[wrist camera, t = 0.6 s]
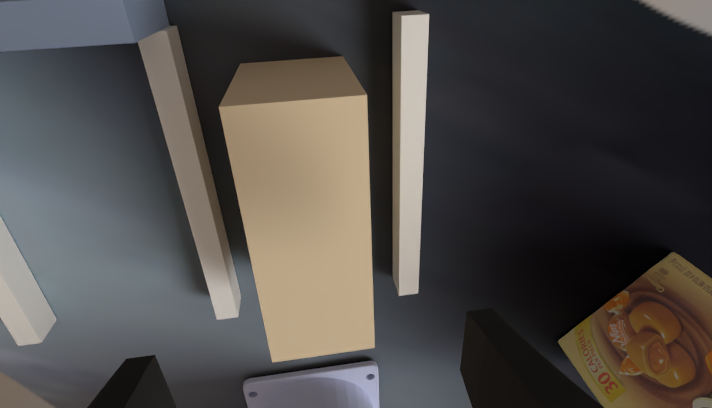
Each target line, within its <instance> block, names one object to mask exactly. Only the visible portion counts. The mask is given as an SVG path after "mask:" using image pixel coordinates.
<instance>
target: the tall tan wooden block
mask: <svg viewBox="0 0 712 408" xmlns="http://www.w3.org/2000/svg"><path fill="white" fill-rule="evenodd" d="M219 111H220V116H221V120H222V125H223V130H224V135H225V140H226V144H227V149H228V154H229V159H230V163H231V168H232V173H233V178H234V182H235V187H236V192H237V197H238V201H239V206H240V211H241V216H242V221H243V225H244V230H245V235H246V240H247V244H248V249H249V254H250V259H251V263H252V268H253V273H254V278H255V282H256V287H257V292H258V297H259V302H260V306H261V311H262V316H263V321H264V325H265V330H266V335H267V340H268V344H269V349H270V354H271V359H272V363H273V362H280V361H287V360H294V359H301V358H308V357H315V356H322V355H329V354H335V353H342V352H349V351H356V350H363V349H370V348H375V339H374V306H373V273H372V241H371V208H370V175H369V142H368V110H367V94H366V92H365V91H364V89H363V88H362V86H361V84H360V83H359V81H358V80H357V78H356V76H355V75H354V73H353V72H352V70H351V68H350V67H349V65H348V64H347V62H346V60H345V59H344V57H343V56H339V57H325V58H311V59H297V60H284V61H270V62H256V63H242V64H240V65H239V67H238V69H237V71H236V73H235V75H234V77H233V79H232V81H231V83H230V85H229V87H228V89H227V91H226V93H225V95H224V97H223V99H222V101H221V103H220V105H219Z"/></svg>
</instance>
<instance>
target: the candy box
mask: <svg viewBox="0 0 712 408" xmlns="http://www.w3.org/2000/svg"><path fill="white" fill-rule="evenodd" d="M558 343H559V345H560V346H561V348H562V349H563V351H564V352H565V354H566V355H567V356H568V358H569V359H570V361H571V362H572V363H573V365H574V366H575V368H576V369H577V371H578V372H579V373H580V375H581V376H582V378H583V379H584V381H585V382H586V383H587V385H588V386H589V388H590V389H591V391H592V392H593V393H594V395H595V396H596V397H597V399H598V400H599V402H600V403H601V405H602V406H603V407H604V408H712V279H711V278H710V277H709V276H707V275H706V274H704V273H703V272H702V271H700V270H699V269H698V268H696V267H695V266H693V265H692V264H691V263H689V262H688V261H686V260H685V259H684V258H682V257H681V256H680V255H678V254H677V253H675V252H672V253H670V254H669V255H668V256H667V257H665V258H664V259H663V260H661V261H660V262H659V263H657V264H656V265H654V266H653V267H652V268H650V269H649V270H648V271H646V272H645V273H644V274H643V275H642V276H640V277H639V278H638V279H637V280H636V281H635V282H634V283H632V284H631V285H630V286H628V287H627V288H626V289H624V290H623V291H621V292H620V293H619V294H617V295H616V296H615V297H613V298H612V299H611V300H610V301H608V302H607V303H606V304H604V305H603V306H602V307H601V308H600V309H598V310H597V311H596V312H595V313H593V314H592V315H590V316H589V317H588V318H586V319H585V320H584V321H582V322H581V323H580V324H578V325H577V326H576V327H574V328H573V329H572V330H571V331H570V332H568V333H567V334H566V335H565V336H563V337H562V338H561V339H559V340H558Z"/></svg>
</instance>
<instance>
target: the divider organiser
mask: <svg viewBox="0 0 712 408" xmlns="http://www.w3.org/2000/svg"><path fill="white" fill-rule="evenodd" d="M428 32H429V14H427V13H424V12H421V11H418V10H416V11H400V12H392V97H393V280H394V283H395V286H396V289H397V292H398V295H399V296H402V295H410V294H417V293H418V287H419V261H420V236H421V210H422V185H423V159H424V134H425V109H426V83H427V58H428ZM136 42H138V45H139V48H140V52H141V55H142V59H143V62H144V66H145V69H146V73H147V76H148V80H149V83H150V87H151V90H152V94H153V97H154V101H155V104H156V108H157V111H158V115H159V118H160V122H161V125H162V129H163V132H164V136H165V139H166V143H167V146H168V150H169V153H170V157H171V160H172V164H173V167H174V171H175V174H176V178H177V181H178V185H179V188H180V192H181V195H182V199H183V202H184V206H185V209H186V213H187V216H188V220H189V223H190V227H191V230H192V234H193V237H194V241H195V244H196V248H197V251H198V255H199V258H200V262H201V265H202V269H203V272H204V276H205V279H206V283H207V286H208V290H209V293H210V297H211V300H212V304H213V307H214V311H215V314H216V318H217V320H220V319H227V318H235V317H238V315H239V308H240V301H241V294H240V289H239V285H238V281H237V277H236V273H235V268H234V264H233V260H232V256H231V251H230V247H229V243H228V239H227V235H226V230H225V226H224V222H223V218H222V214H221V209H220V205H219V201H218V197H217V193H216V188H215V184H214V180H213V176H212V171H211V167H210V163H209V159H208V155H207V150H206V146H205V142H204V138H203V134H202V129H201V125H200V121H199V117H198V113H197V108H196V104H195V100H194V96H193V92H192V87H191V83H190V79H189V75H188V70H187V66H186V62H185V58H184V54H183V49H182V45H181V41H180V37H179V33H178V28H177V25H176V26H170V25H169V21H168V17H167V13H166V9H165V5H164V1H163V0H0V52H4V51H19V50H34V49H50V48H65V47H80V46H95V45H110V44H126V43H136ZM0 318H1V319H2V321H3V322H4V324H5V326H6V327H7V329H8V330H9V332H10V333H11V335H12V337H13V338H14V340H15V341H16V343H17V344H18V346H22V345H30V344H37V343H42V341H43V340H44V338H45V337H46V335H47V334H48V332H49V331H50V329H51V328H52V326H53V325H54V323H55V322H56V320H57V319H56V317H55V315H54V313H53V312H52V310H51V308H50V306H49V304H48V302H47V301H46V299H45V297H44V295H43V293H42V291H41V290H40V288H39V286H38V284H37V282H36V280H35V279H34V277H33V275H32V273H31V271H30V269H29V268H28V266H27V264H26V262H25V260H24V258H23V257H22V255H21V253H20V251H19V249H18V248H17V246H16V244H15V242H14V240H13V238H12V237H11V235H10V233H9V231H8V229H7V227H6V226H5V224H4V222H3V220H2V218H1V216H0Z"/></svg>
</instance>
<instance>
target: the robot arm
mask: <svg viewBox="0 0 712 408" xmlns="http://www.w3.org/2000/svg"><path fill="white" fill-rule="evenodd" d="M460 371H461V374H462V377H463V380H464V383H465V387H466V390H467V393H468V396H469V399H470V402H471V404H472V407H473V408H604V407H603V406H602V405H600V404H599V403H598V402H597V401H595V400H594V399H593V398H592V397H591V396H589V395H588V394H587V393H586V392H584V391H583V390H582V389H581V388H580V387H578V386H577V385H576V384H575V383H574V382H573V381H571V380H570V379H569V378H568V377H567V376H566V375H564V374H563V373H562V372H561V371H560V370H559V369H557V368H556V367H555V366H554V365H553V364H552V363H551V362H549V361H548V360H547V359H546V358H545V357H544V356H543V355H542V354H540V353H539V352H538V351H537V350H536V349H535V348H534V347H533V346H532V345H531V344H529V343H528V342H527V341H526V340H525V339H524V338H523V337H522V336H521V335H520V334H519V333H517V332H516V331H515V330H514V329H513V328H512V327H511V326H510V325H509V324H508V323H507V322H506V321H505V320H504V319H502V318H501V317H500V316H499V315H498V314H497V313H496V312H495V311H494V310H492V309H484V310H477V311H470V312H467V315H466V324H465V332H464V341H463V349H462V358H461V367H460ZM243 392H244V396H245V399H246V403H247V406H248V408H379V377H378V366H377V363H376V362H374V361H364V362H358V363H351V364H344V365H337V366H330V367H323V368H317V369H310V370H303V371H296V372H289V373H282V374H276V375H269V376H262V377H255V378H249V379H247V380H245V381H244V383H243ZM87 408H176V405H175V403H174V400H173V398H172V396H171V393H170V391H169V388H168V386H167V383H166V381H165V378H164V376H163V374H162V371H161V369H160V366H159V364H158V361H157V359H156V356H155V355H152V356H144V357H137V358H130V359H126V360H125V361H124V362H123V364H122V365H121V366H120V367H119V368H118V370H117V371H116V372H115V373H114V375H113V376H112V377H111V378H110V380H109V381H108V382H107V383H106V385H105V386H104V387H103V388H102V390H101V391H100V392H99V394H98V395H97V396H96V397H95V399H94V400H93V401H92V402H91V404H90V405H89V406H88V407H87Z"/></svg>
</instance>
